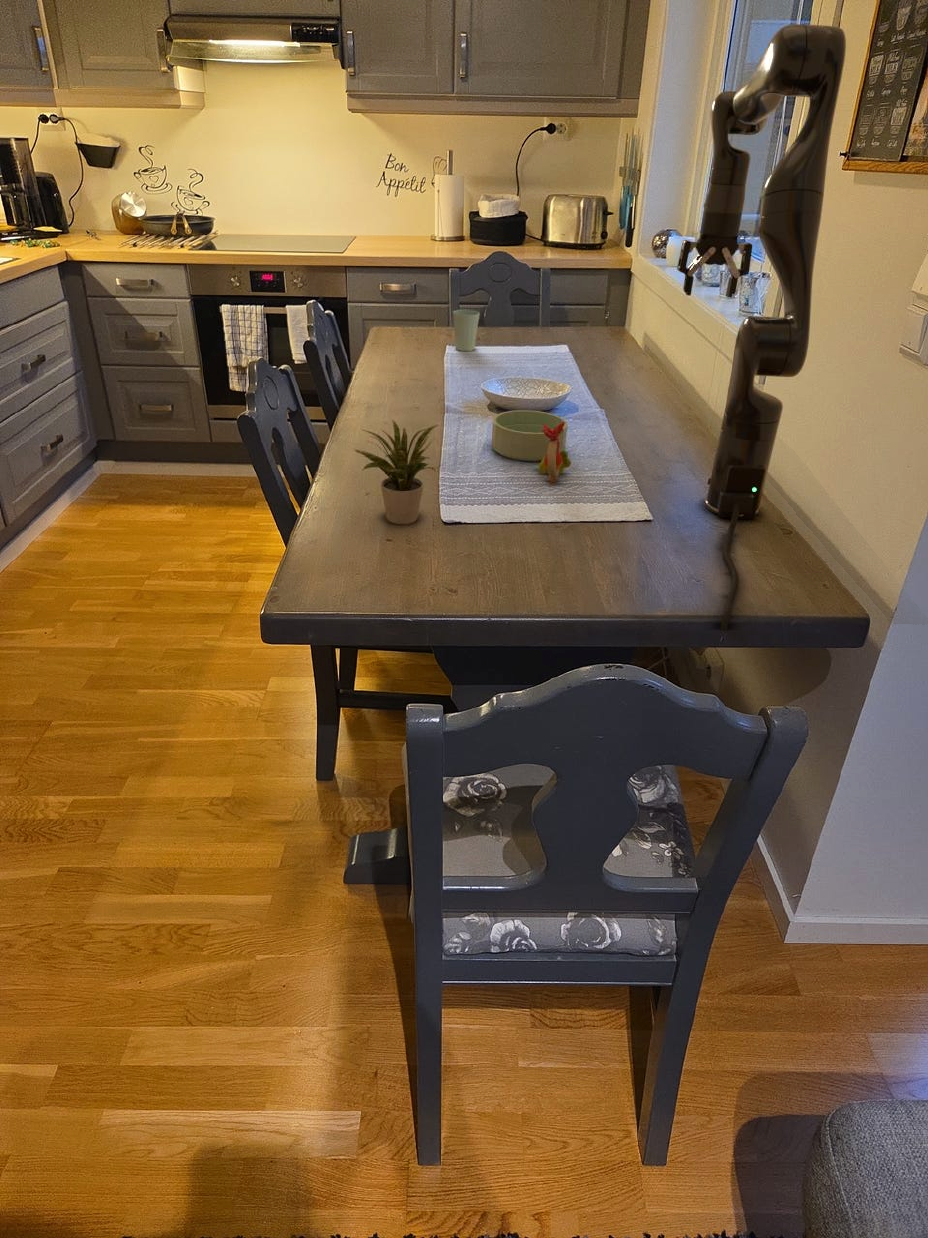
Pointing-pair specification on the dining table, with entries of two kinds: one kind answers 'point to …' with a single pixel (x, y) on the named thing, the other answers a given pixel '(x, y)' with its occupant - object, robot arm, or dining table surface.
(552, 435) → the bird rattle
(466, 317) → the cup
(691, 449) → the dining table surface
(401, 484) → the house plant
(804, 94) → the robot arm
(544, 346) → the dining table surface
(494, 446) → the bowl
